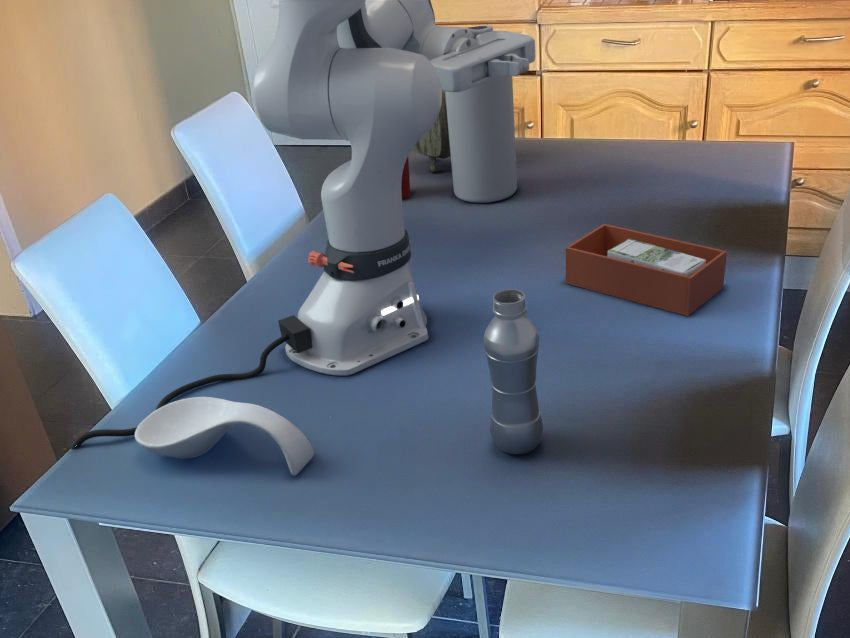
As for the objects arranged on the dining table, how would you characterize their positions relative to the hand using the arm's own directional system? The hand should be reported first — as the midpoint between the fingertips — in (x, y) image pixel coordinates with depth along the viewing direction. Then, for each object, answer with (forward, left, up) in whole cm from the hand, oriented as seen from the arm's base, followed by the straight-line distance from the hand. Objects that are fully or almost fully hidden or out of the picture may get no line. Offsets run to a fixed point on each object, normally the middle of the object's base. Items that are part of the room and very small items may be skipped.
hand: (523, 67), depth 140 cm
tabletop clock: (+26, +43, -30) cm, 59 cm away
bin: (0, -22, -30) cm, 37 cm away
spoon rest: (-68, -2, -30) cm, 74 cm away
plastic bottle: (-46, -32, -30) cm, 64 cm away
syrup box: (-1, -17, -26) cm, 32 cm away
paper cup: (+10, +41, -30) cm, 52 cm away
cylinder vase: (+20, +26, -30) cm, 45 cm away
